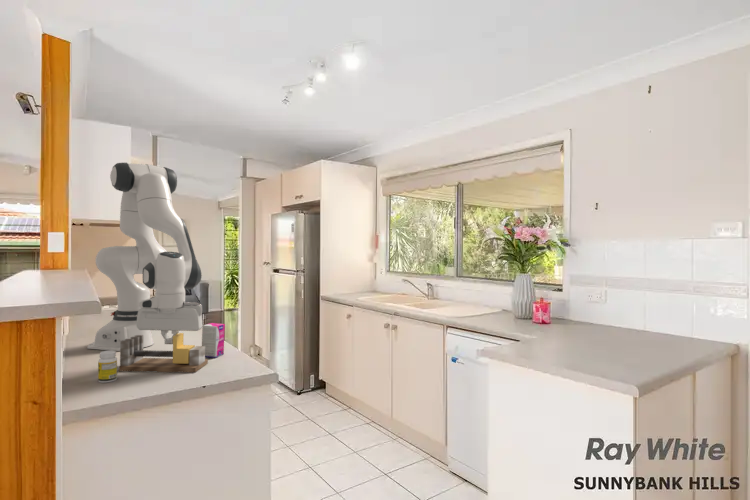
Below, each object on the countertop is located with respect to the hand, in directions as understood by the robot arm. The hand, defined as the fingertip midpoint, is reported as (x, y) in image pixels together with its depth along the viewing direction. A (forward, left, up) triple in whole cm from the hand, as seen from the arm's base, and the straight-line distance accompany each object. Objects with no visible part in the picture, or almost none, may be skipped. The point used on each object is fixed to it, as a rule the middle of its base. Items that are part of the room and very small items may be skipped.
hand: (169, 343), depth 138 cm
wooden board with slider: (-2, 0, -8) cm, 8 cm away
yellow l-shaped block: (+5, 0, -6) cm, 7 cm away
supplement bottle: (-12, -14, -8) cm, 20 cm away
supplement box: (+8, +15, -8) cm, 19 cm away
